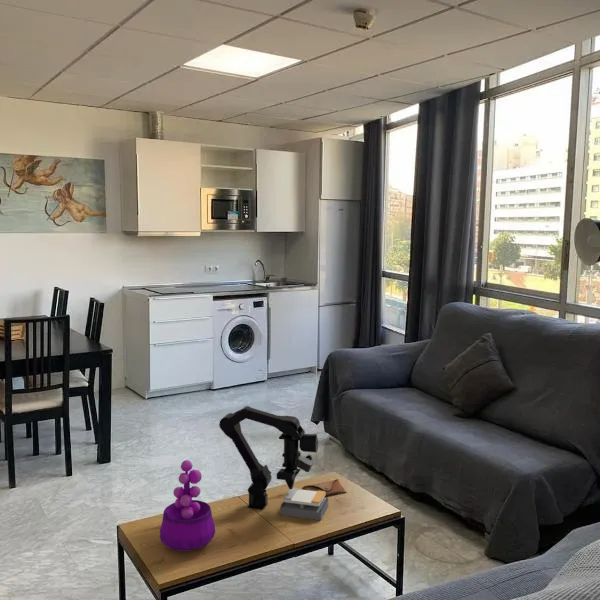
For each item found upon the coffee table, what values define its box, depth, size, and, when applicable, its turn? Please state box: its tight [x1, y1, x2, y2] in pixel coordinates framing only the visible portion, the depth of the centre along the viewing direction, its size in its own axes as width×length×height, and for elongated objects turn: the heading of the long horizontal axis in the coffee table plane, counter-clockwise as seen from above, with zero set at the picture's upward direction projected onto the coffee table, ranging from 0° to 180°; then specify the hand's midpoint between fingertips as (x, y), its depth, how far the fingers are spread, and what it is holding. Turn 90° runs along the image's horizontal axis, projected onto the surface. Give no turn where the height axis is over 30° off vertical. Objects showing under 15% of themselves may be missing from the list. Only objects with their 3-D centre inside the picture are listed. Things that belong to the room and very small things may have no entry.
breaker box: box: [279, 497, 329, 521], centre depth 234 cm, size 16×12×4 cm
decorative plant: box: [159, 459, 216, 552], centre depth 207 cm, size 19×18×30 cm
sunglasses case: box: [301, 478, 348, 498], centre depth 251 cm, size 18×7×7 cm
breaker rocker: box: [282, 486, 326, 506], centre depth 234 cm, size 14×11×2 cm
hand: (290, 488), depth 235 cm, fingers closed
